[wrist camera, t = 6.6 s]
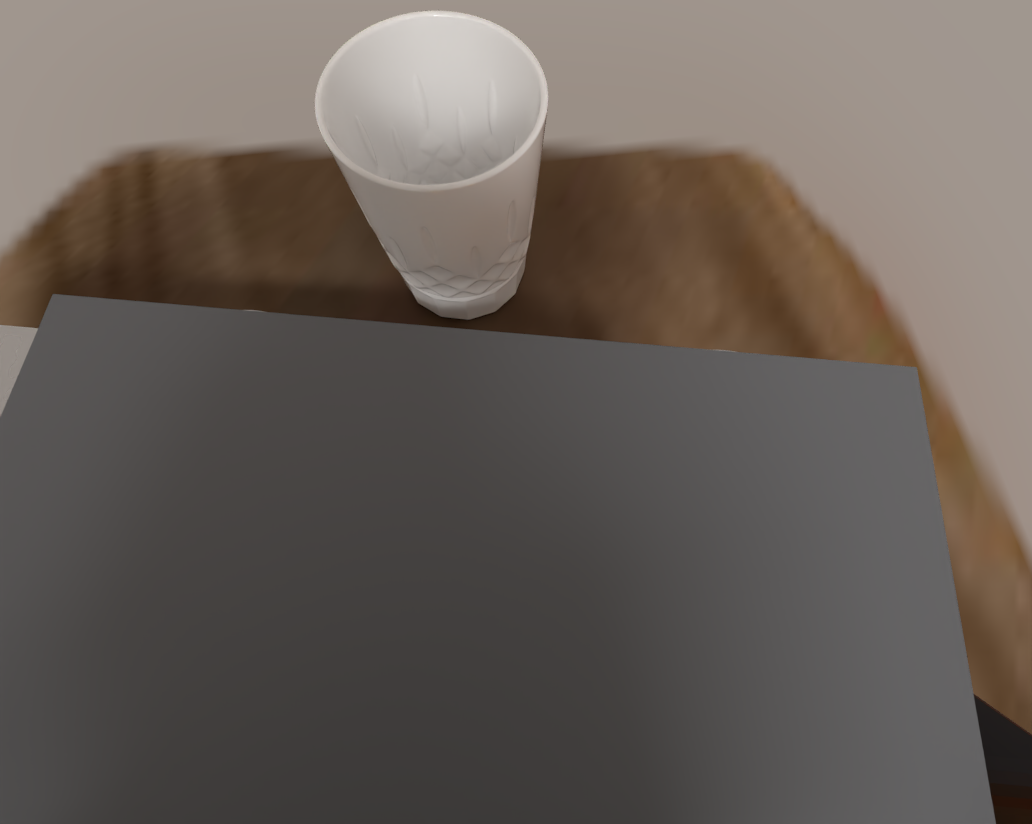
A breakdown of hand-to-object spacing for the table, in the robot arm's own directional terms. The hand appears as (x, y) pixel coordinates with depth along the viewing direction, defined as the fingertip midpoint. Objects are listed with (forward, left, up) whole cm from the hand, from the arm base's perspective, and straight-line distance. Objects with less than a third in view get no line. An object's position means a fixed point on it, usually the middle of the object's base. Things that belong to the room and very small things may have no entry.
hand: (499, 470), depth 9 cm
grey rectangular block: (-1, -1, -7) cm, 7 cm away
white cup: (+3, +13, -13) cm, 18 cm away
